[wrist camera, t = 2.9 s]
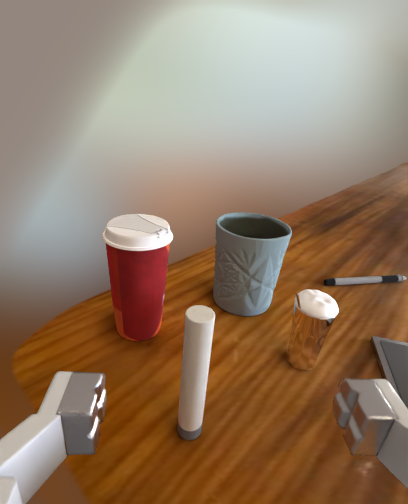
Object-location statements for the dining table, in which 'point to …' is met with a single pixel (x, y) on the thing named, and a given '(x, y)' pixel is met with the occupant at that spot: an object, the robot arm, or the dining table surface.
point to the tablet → (393, 364)
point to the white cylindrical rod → (195, 369)
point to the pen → (364, 280)
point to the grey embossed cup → (248, 261)
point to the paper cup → (137, 272)
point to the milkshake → (310, 327)
